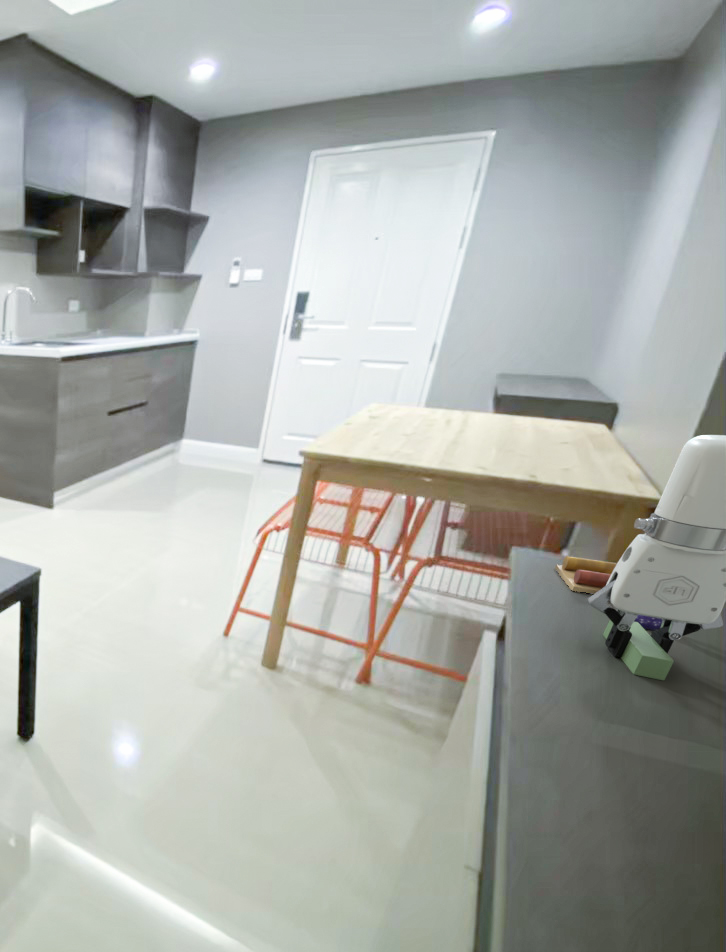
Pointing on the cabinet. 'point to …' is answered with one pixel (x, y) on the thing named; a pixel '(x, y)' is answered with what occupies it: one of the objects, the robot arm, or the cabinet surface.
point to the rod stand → (585, 573)
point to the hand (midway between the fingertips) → (632, 655)
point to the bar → (644, 654)
